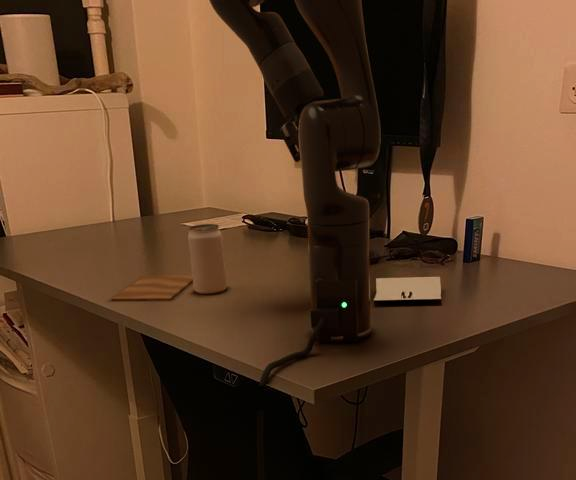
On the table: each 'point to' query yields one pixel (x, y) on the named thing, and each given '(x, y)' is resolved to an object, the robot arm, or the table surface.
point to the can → (207, 259)
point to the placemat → (155, 288)
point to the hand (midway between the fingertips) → (340, 170)
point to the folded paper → (408, 288)
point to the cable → (395, 254)
